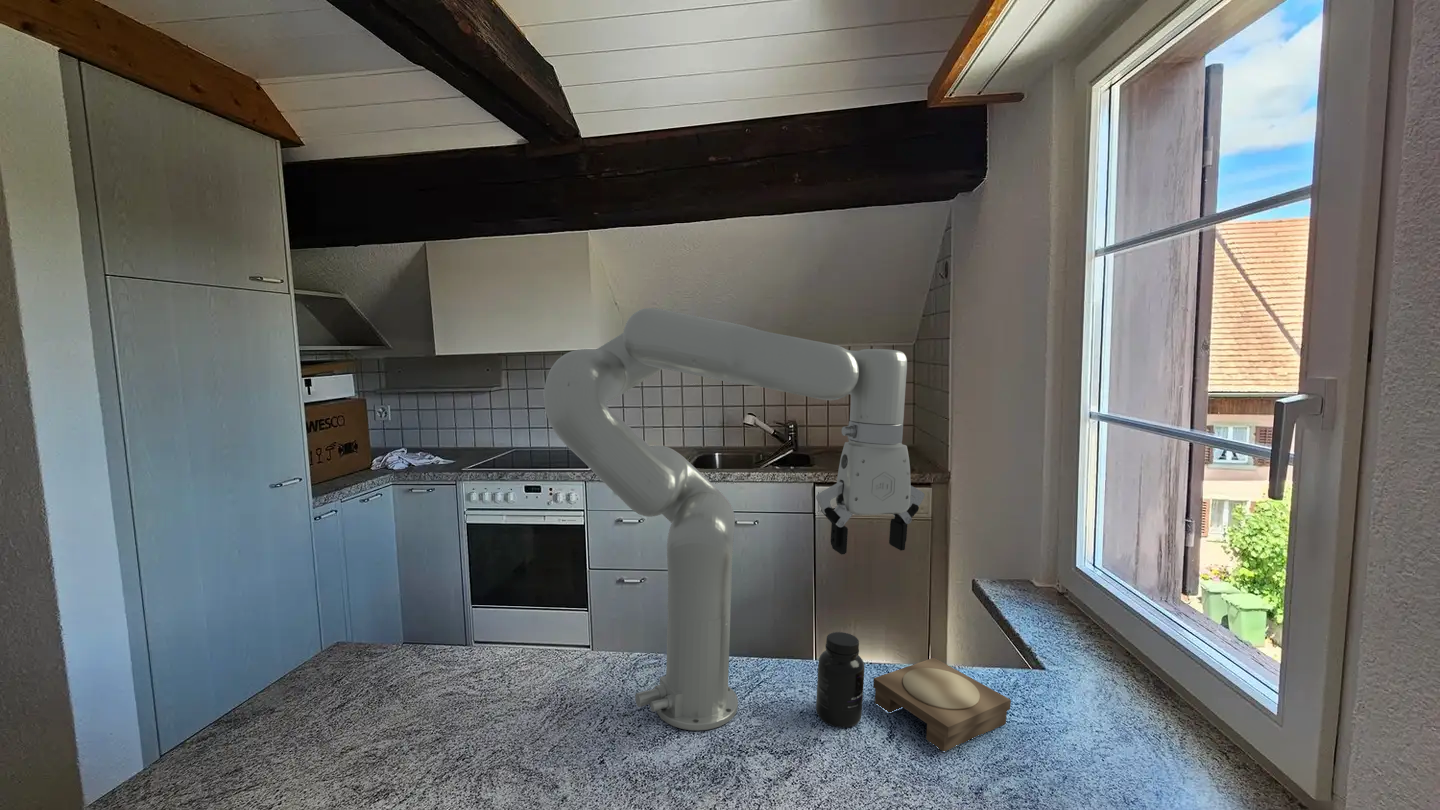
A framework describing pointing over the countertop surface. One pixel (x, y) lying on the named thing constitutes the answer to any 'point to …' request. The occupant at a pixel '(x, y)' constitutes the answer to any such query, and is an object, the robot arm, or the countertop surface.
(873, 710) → the countertop surface
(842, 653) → the supplement bottle
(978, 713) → the walnut stand
